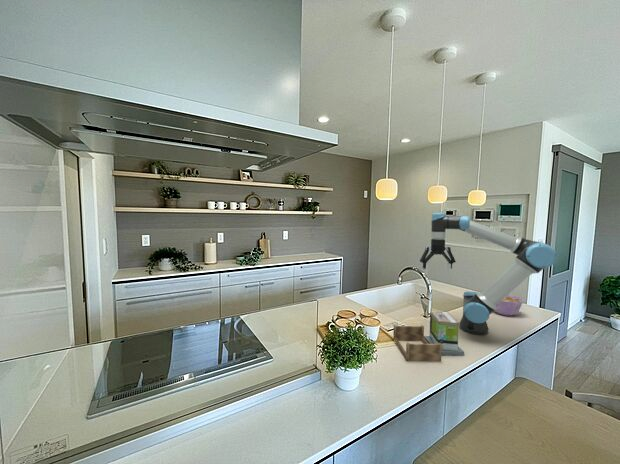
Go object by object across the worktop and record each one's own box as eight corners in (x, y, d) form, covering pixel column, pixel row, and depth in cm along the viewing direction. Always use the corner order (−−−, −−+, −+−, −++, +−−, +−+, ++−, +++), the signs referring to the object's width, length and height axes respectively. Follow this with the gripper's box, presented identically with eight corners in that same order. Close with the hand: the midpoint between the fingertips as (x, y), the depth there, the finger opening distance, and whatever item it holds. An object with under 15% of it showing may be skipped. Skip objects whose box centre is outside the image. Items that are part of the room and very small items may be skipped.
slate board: (446, 339, 146) (446, 336, 146) (464, 355, 129) (464, 351, 129) (423, 339, 146) (423, 335, 146) (437, 355, 129) (437, 351, 129)
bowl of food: (480, 310, 191) (481, 294, 191) (500, 307, 197) (501, 292, 197) (508, 320, 172) (509, 303, 172) (529, 317, 178) (530, 300, 178)
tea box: (458, 351, 129) (459, 322, 128) (437, 349, 131) (437, 321, 130) (448, 337, 144) (449, 311, 143) (428, 336, 146) (429, 310, 145)
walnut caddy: (422, 339, 145) (423, 325, 145) (441, 361, 124) (442, 344, 123) (393, 339, 146) (393, 325, 145) (406, 361, 124) (407, 344, 124)
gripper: (455, 238, 157) (454, 272, 159) (414, 238, 158) (413, 272, 159) (462, 239, 150) (461, 275, 151) (419, 239, 150) (418, 275, 152)
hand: (437, 274), depth 155 cm, fingers open, 13 cm apart
